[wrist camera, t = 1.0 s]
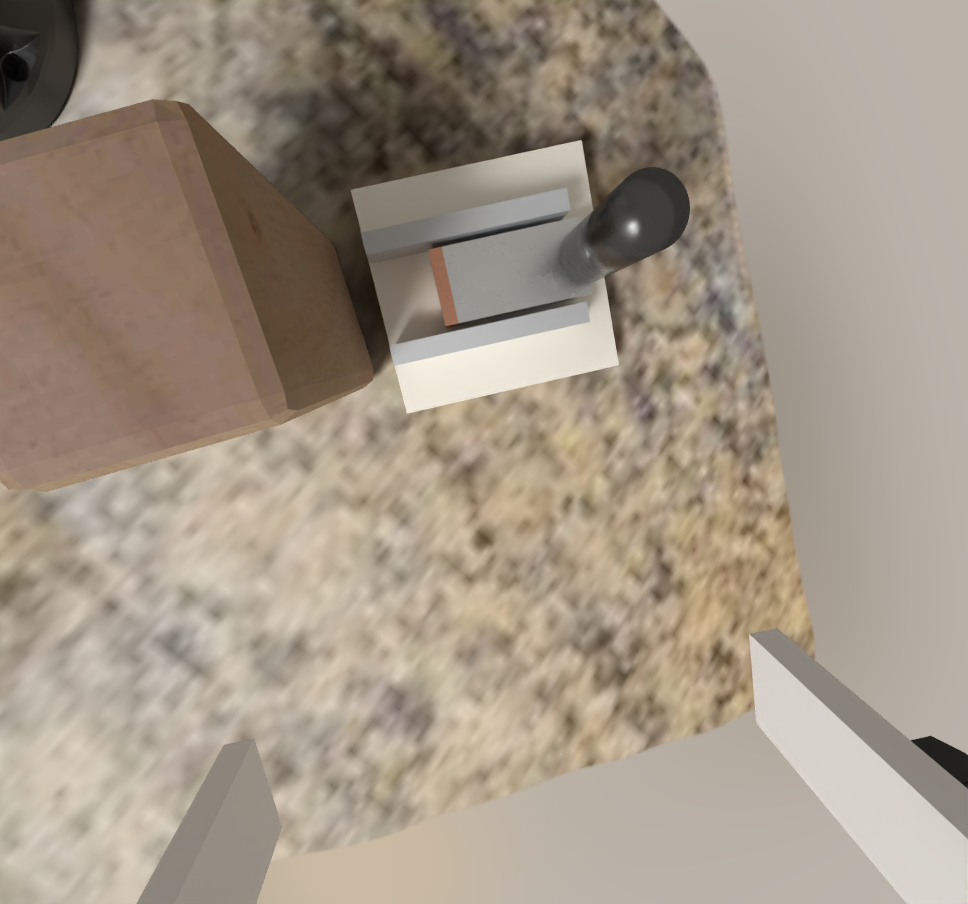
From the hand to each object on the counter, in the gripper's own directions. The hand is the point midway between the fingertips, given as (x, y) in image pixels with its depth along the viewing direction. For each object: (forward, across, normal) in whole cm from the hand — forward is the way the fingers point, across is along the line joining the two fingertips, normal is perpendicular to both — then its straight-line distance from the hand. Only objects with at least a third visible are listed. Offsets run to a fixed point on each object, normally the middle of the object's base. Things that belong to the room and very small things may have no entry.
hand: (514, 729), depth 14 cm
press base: (+25, +4, +13) cm, 28 cm away
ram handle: (+22, +6, +13) cm, 27 cm away
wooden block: (+25, -10, +13) cm, 30 cm away
